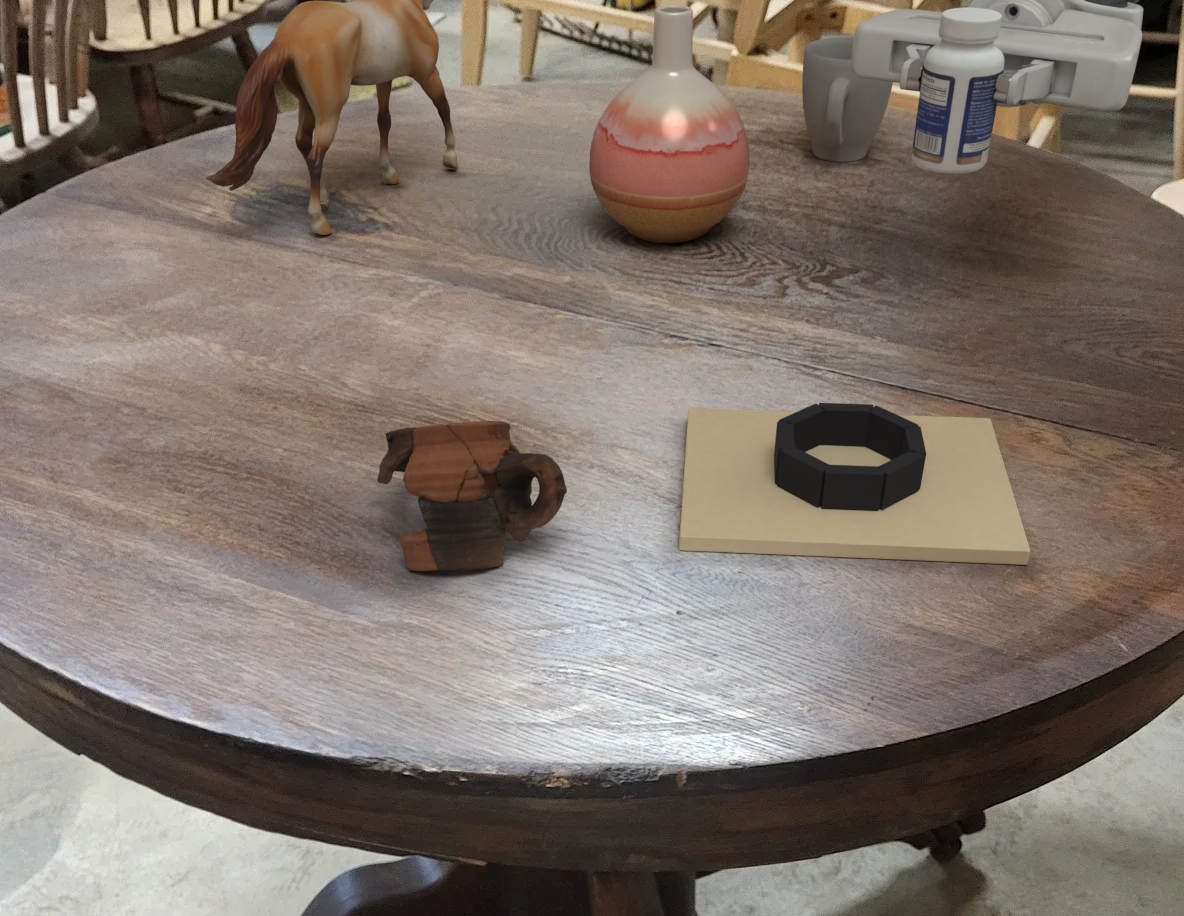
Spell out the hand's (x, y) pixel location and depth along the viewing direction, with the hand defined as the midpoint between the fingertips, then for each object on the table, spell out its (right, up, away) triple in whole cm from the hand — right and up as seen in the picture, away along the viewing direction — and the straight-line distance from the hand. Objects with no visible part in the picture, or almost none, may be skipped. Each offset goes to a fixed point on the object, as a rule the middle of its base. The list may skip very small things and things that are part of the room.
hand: (957, 84), depth 89 cm
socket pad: (-9, -29, -8) cm, 32 cm away
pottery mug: (-32, -33, -12) cm, 48 cm away
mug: (-1, +12, +40) cm, 42 cm away
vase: (-19, -1, +25) cm, 31 cm away
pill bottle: (0, -4, +4) cm, 6 cm away
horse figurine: (-49, +5, +33) cm, 59 cm away
